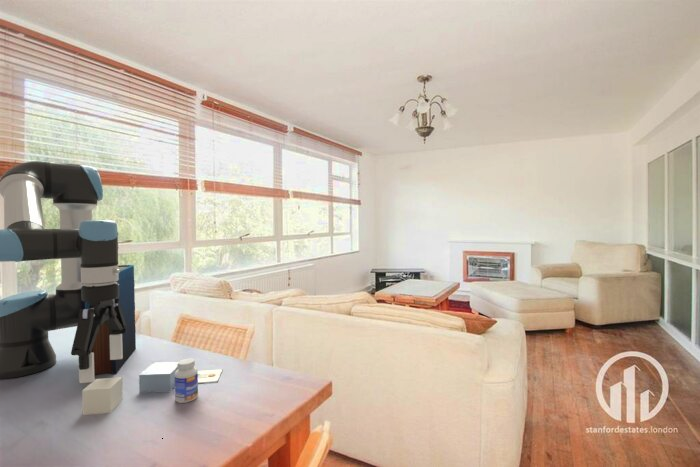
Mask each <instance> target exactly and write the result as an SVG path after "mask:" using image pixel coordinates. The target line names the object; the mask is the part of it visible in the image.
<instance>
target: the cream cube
mask: <svg viewBox="0 0 700 467" xmlns="http://www.w3.org/2000/svg"><path fill="white" fill-rule="evenodd" d="M81 392H82V393H81V394H82V415H83V416H85V415H86V416H87V415H100V414H110V413H112V412H113V411H114V410H115V409H116V408H117V407H118V406H119V404H120V403H121V402H122V401H123V399H124V398H123V397H124V396H123V394H124V393H123V377H122V376H118V377H108V378H95V381H94V382H90V383H89V384H88V385H87V386H86V387H85V388H83V389H82V391H81Z"/></svg>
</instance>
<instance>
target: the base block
mask: <svg viewBox="0 0 700 467" xmlns="http://www.w3.org/2000/svg"><path fill="white" fill-rule="evenodd" d="M177 363H178V361H167V362H164V361H163V362H152V364H150V365H149V366H148V367H147V368H145V369H144V370H142V372H140V374H138V376H139V377H138V382H139V383H138V384H139V387H138V388H139V390H138V391H139V393H140V394H141V393H161V392H162V393H163V392H166V393H167V392H171V391H172V390H173V389H175V372H176V371H177V370H178V367H177Z"/></svg>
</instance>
